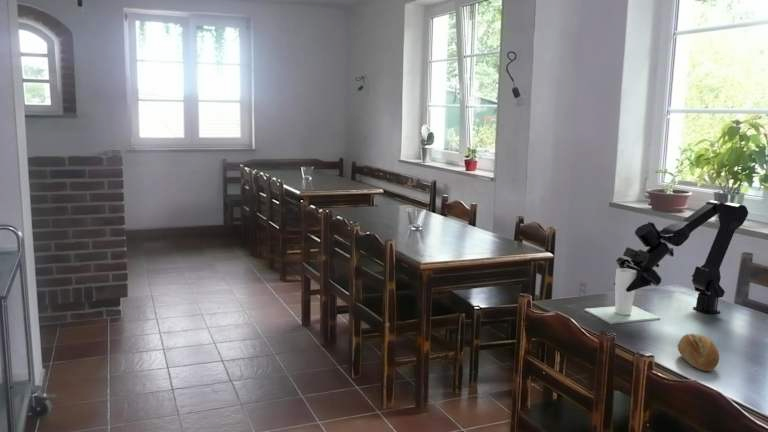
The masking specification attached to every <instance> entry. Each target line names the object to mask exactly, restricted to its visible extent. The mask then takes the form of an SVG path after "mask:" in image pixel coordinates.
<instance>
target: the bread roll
mask: <svg viewBox="0 0 768 432" xmlns="http://www.w3.org/2000/svg"><path fill="white" fill-rule="evenodd" d="M677 350H678V353H679V354H680V356H681V357H682V358H683V359H684V360H685V361H686V362H687V363H689V364H690V365H691V366H693V367H694V368H696V369H698V370H700V371H705V372H712V371H713V370H715V368H717V366H718V364H719V361H720V354H719V349H718V348H717V346H716V344H715V343H714V341H712V339H710V337H707V336H705V335H701V334H695V333H689V334H687V333H686V334H684V335H683V336H682V337H681V338H680V340H679V341H678V343H677Z"/></svg>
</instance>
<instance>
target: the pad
mask: <svg viewBox="0 0 768 432" xmlns="http://www.w3.org/2000/svg"><path fill="white" fill-rule="evenodd" d="M583 311H585V312H587V314H588V313H589V314H591V315H593V316H595V317H596V318H598V319H600V320H603V321H604V322H606V323H608V324H610V325H613V324H614V325H615V324H623V323H624V324H625V323H636V322H646V321H657V320H659V321H660V320H661V317H660V316H658V315H655V314H653V313H651V312H650V311H649V312H648V311H646V310H643V309H642V308H639V307H637V306H635V305H632V312H631V314H630V315H620V314H617V313H616V312H615V305H613V306H603V307H591V308H590V307H589V308H584V310H583Z"/></svg>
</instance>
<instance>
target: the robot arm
mask: <svg viewBox="0 0 768 432" xmlns="http://www.w3.org/2000/svg"><path fill="white" fill-rule="evenodd" d="M717 215H718V220H719V222H718V223H719V228H718V230H717V232H716V235H715V237H714V239H713V242H712V245H711V247H710V249H709V252H708V254H707V256H706V259H705V262H704V264H702V265H701V266H696V267H695V268H694V272H693V274H692V275H691V278H692V279H691V283H692V284H693V287H694V291H695V292H698V294H697V297H696V303H695V306H693V307H692V309H694V310H696V311H698V312H700V313H703V314H706V315H709V314H710V315H711V314H720V313H721V310H718V305H719V299H720V298H724V295H725V294H726V291H725V290H724V288H723V287H722V286H721V285H720V282H721V270H720V268H721V267H722V263H723V261H724V258H725V256H726V254H727V251H728V249H729V245H730V243H731V241H732V239H733V237H734V234H735V233H736V232H735V231H736V230H738V229H739V228H740V227H742V225H744V223H745V221H746V220H747V218H748V217H749V216H748V215H749V211H748V208H747V206H746V205H744V204H739V203H734V202H726V203H722V202H721V201H718V200H717V201H716V200H712V199H711V200H708V201H706V203H705V204H704V205H702V206H701V207H700V208H698V209H697V210H695V211H694V212H692V213H691V214H690V215H688V216H686V218H683V220H680V221H679V222H675V223H672V224H669V225H666V226H665V227H663V228H662V229H658V228H657V227H656V224H655V223H654V222H651V221H648V222H647V223H645V224H642V225H640V226H638V227H637V228H636V229H635V231H634V235H635V236H636V237H637V239H638V240H639V241H640V243H641V244H642V245H643V246H644V247H646V248H647V249H646V250H644V249H638V250H636V249H634V248H631V247H629V246H627V247H626V248H625V249H624V251H623V254H622V256H624V257H622V256H619V257H618V258H617V259H616V260H615V263H616V264H617V265H618V267H619V268H627V269H633V270H636V271H637V275H636V278H635V279H634V280H633V281H632V283H631V284H630V285H629V286H628V287H627V289H626V291H627V292H630V291H633V290H635V291H636V290H639V289H641V288H644V287H649V286H650V287H651V286H652V285H653V286H655V287H658V286H659V285H660V284H662V278H661V276H660V275H659V274H658V272H657V271H656V270H655V269H654V268H659V267H660V264H659V263H661V261H662V260H663V259H664V258H665V257H666V256H669V257H674V248H673V247H680V246H682V245H684V243H685V242H686V241H687V240H689V238H690V236H691V233H692V232H694V231H695V230H696V229H698V228H699V227H701V226H703V225H704V224H705V223H706V222H708V221H710V220H711V219H712V218H714V217H715V216H717ZM670 245H671V246H673V247H670ZM629 259H630V260H629ZM613 286H615V282H614V283H613Z"/></svg>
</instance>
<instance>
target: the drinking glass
mask: <svg viewBox="0 0 768 432" xmlns="http://www.w3.org/2000/svg"><path fill="white" fill-rule="evenodd" d="M636 270H637V269H636ZM636 270H633V269H627V268H620V267H619V268H616V270H615V277H614V279H615V280H614V283H615V285H614V291H615V292H614V295H615V296H614V297H615V301H614V306H615V312H616V313H617V314H620V315H630V314H631V312H632V305H633V304H634V298H635V293H636V290H633V291H630V292H627V291H626V289H627V287H628V286H629V285H630V284H631V283H632V281H633V280H634V279H635V278H636V275H637V271H636ZM633 306H634V305H633Z"/></svg>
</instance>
